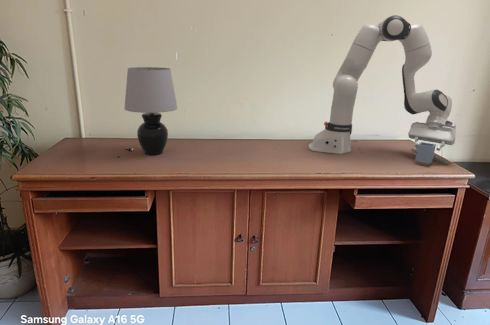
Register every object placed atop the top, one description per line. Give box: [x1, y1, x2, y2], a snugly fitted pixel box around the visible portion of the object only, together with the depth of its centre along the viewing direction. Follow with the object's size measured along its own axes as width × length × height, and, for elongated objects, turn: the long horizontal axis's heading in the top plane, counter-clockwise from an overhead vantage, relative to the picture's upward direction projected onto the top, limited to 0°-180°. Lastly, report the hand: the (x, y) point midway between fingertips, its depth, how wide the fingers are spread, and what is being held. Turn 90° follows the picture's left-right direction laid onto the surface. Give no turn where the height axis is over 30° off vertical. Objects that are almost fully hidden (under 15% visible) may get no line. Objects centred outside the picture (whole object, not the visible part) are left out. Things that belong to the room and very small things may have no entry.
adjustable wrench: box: [411, 147, 449, 164], centre depth 183 cm, size 25×6×2 cm, turn 6°
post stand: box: [414, 160, 433, 168], centre depth 168 cm, size 6×6×6 cm
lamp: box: [124, 66, 178, 157], centre depth 167 cm, size 24×24×40 cm
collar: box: [414, 141, 437, 164], centre depth 168 cm, size 6×6×8 cm
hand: (427, 148), depth 169 cm, fingers open, 8 cm apart
